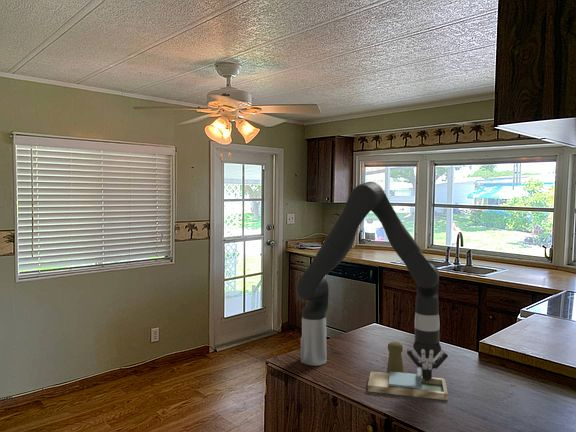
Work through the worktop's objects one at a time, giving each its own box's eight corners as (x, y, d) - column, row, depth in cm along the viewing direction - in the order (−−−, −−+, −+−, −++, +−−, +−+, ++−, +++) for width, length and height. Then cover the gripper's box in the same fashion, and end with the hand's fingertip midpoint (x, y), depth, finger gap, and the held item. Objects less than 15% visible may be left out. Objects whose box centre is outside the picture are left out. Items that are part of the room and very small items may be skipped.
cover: (388, 385, 134) (388, 377, 134) (390, 373, 143) (390, 365, 143) (421, 389, 131) (421, 380, 131) (420, 376, 140) (420, 368, 140)
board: (367, 391, 135) (367, 385, 135) (371, 377, 145) (370, 371, 145) (447, 400, 128) (447, 393, 128) (444, 384, 139) (444, 378, 139)
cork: (404, 377, 144) (404, 346, 144) (386, 376, 146) (386, 345, 145) (403, 370, 150) (403, 340, 150) (386, 369, 152) (386, 339, 151)
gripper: (405, 328, 133) (405, 382, 133) (450, 331, 129) (450, 387, 130) (405, 321, 140) (405, 373, 141) (448, 324, 136) (447, 377, 137)
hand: (427, 379), depth 135 cm, fingers closed
